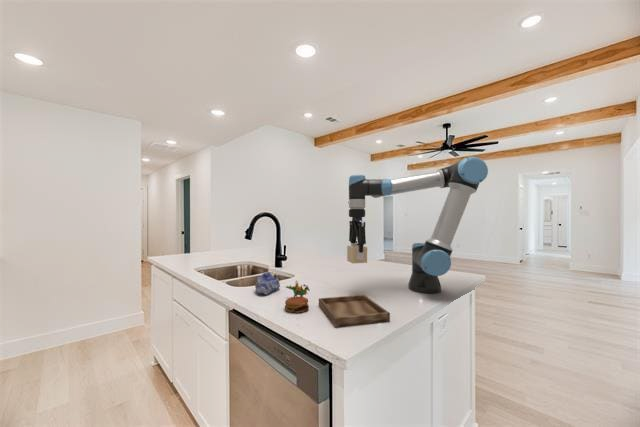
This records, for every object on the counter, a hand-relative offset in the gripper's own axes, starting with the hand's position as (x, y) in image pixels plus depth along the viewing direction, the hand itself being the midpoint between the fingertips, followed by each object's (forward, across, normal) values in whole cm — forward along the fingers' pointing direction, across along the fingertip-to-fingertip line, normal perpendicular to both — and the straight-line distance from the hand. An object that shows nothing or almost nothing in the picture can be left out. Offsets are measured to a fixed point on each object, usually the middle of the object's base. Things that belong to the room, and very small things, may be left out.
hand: (356, 258), depth 125 cm
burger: (+17, +12, -30) cm, 37 cm away
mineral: (+17, -15, -40) cm, 47 cm away
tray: (+17, +21, -11) cm, 29 cm away
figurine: (+17, -1, -28) cm, 33 cm away
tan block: (+2, 0, 0) cm, 2 cm away
